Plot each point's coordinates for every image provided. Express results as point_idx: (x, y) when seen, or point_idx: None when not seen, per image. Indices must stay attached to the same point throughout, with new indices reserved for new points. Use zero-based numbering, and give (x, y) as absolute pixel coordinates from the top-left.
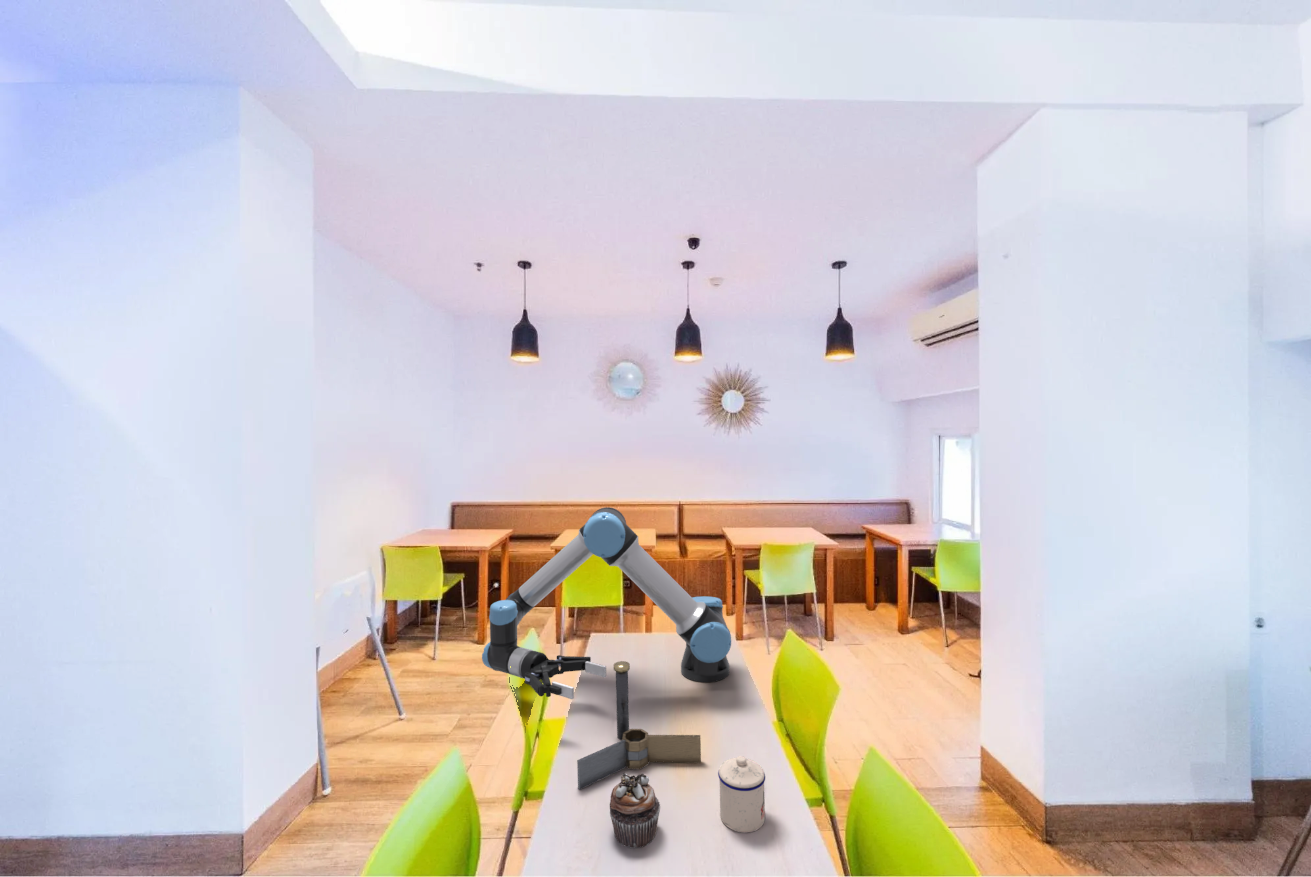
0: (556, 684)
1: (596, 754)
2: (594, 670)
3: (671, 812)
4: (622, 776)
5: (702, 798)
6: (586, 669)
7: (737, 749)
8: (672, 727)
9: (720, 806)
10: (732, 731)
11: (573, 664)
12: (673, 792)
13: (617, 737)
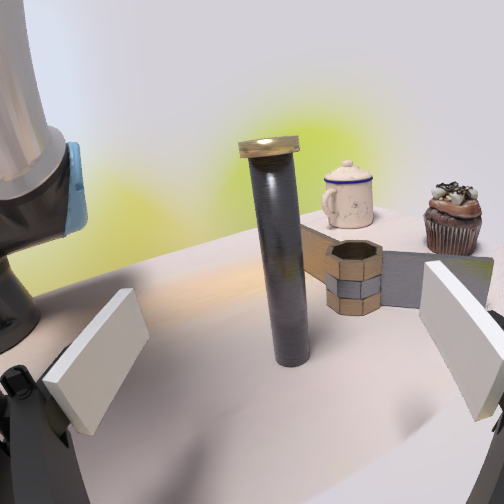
0: (497, 326)
1: (454, 255)
2: (112, 362)
3: (399, 243)
4: (462, 190)
5: (354, 239)
6: (86, 416)
7: (238, 250)
8: (209, 309)
9: (367, 213)
10: (194, 263)
11: (58, 479)
12: None
13: (306, 360)
